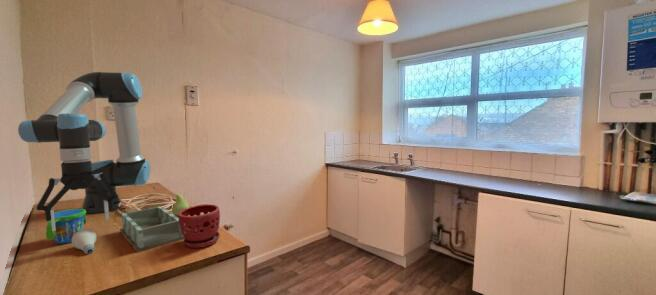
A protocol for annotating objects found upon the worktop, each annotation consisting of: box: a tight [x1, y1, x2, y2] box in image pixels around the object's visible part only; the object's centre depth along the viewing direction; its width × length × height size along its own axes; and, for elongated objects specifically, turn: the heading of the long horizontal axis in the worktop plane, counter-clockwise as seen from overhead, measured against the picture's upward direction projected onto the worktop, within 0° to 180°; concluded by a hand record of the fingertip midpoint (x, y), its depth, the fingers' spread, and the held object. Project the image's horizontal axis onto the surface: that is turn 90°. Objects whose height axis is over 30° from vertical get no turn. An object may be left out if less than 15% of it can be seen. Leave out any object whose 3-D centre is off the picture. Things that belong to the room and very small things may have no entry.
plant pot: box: [177, 203, 221, 249], centre depth 101 cm, size 13×13×12 cm
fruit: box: [169, 190, 190, 217], centre depth 128 cm, size 7×8×12 cm
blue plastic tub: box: [45, 208, 88, 245], centre depth 104 cm, size 16×10×10 cm
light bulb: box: [71, 228, 97, 255], centre depth 97 cm, size 7×7×11 cm
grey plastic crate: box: [119, 205, 185, 253], centre depth 108 cm, size 25×15×7 cm, turn 46°
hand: (81, 224), depth 96 cm, fingers open, 13 cm apart
